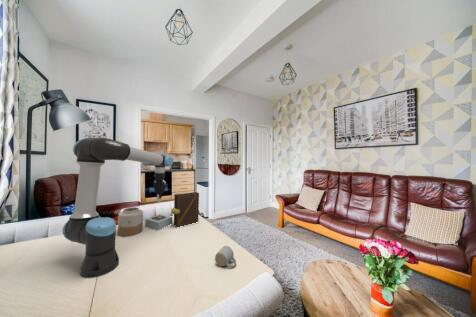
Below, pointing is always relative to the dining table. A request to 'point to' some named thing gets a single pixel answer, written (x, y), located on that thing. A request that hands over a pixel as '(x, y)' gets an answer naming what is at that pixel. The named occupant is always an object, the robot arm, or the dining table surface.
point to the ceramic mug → (225, 257)
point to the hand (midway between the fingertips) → (159, 202)
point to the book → (186, 208)
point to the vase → (130, 222)
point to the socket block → (158, 222)
